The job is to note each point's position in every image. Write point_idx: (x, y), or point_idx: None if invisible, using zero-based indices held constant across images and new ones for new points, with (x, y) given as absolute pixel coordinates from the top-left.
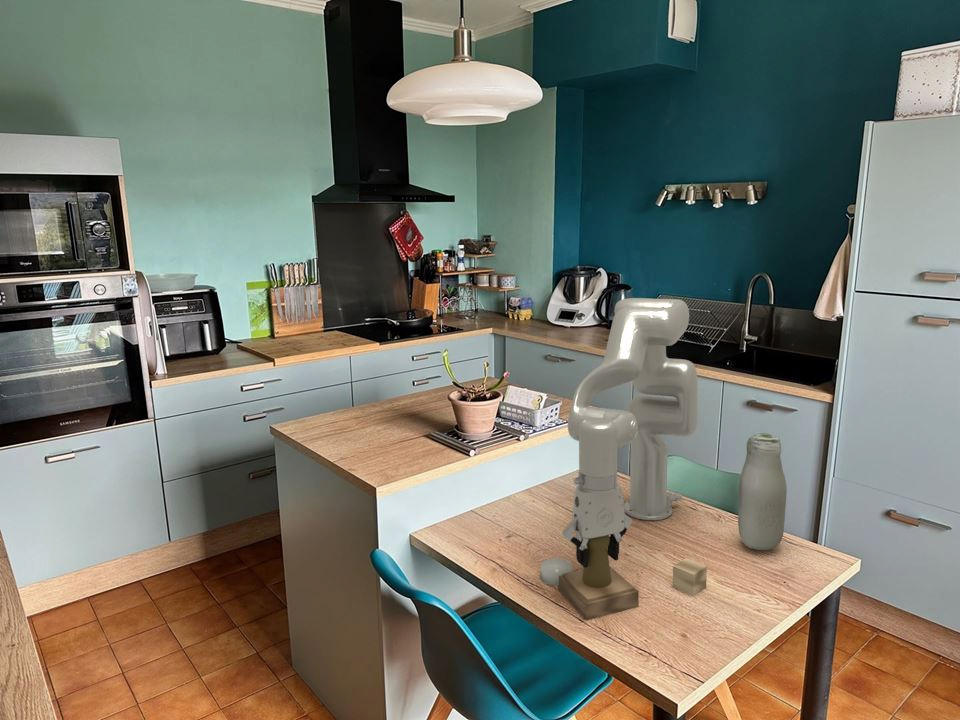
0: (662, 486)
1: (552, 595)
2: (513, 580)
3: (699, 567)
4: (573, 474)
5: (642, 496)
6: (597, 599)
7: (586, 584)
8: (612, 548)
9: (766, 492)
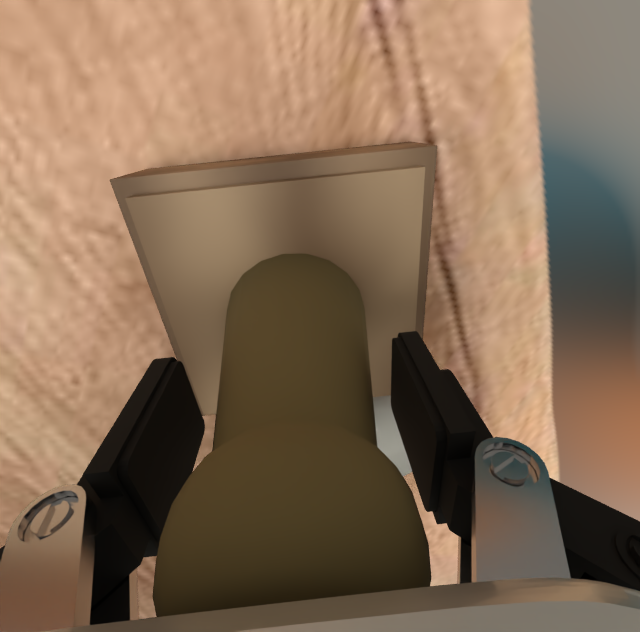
0: None
1: (435, 335)
2: (493, 428)
3: None
4: None
5: None
6: (362, 171)
7: (361, 297)
8: (164, 442)
9: None
